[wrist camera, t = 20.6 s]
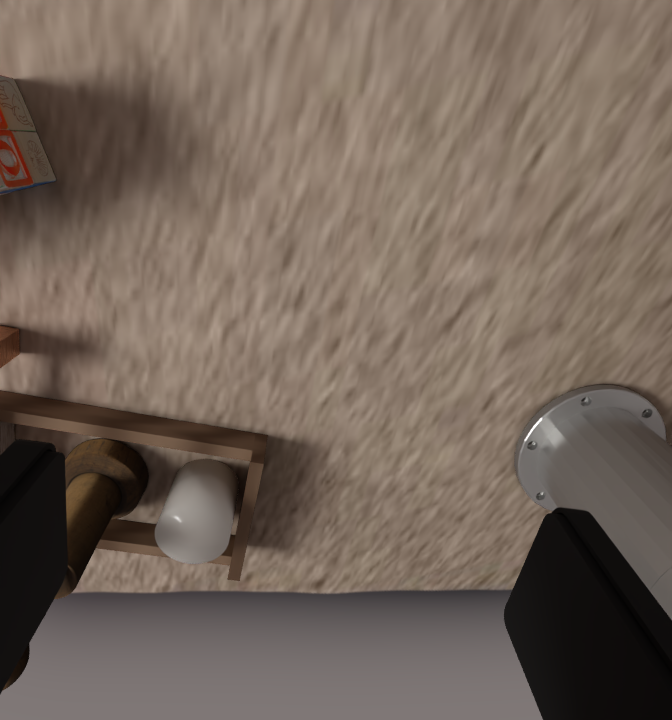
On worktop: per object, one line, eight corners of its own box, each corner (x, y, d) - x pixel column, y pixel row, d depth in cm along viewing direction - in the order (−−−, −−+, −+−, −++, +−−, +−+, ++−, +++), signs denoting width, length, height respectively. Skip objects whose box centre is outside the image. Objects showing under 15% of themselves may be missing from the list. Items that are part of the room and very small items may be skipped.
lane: (267, 435, 41) (262, 472, 37) (244, 545, 46) (237, 590, 41) (-26, 386, 38) (-72, 419, 34) (-19, 509, 43) (-58, 554, 38)
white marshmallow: (244, 464, 42) (234, 512, 37) (234, 515, 44) (224, 568, 39) (177, 453, 42) (158, 501, 36) (171, 506, 44) (151, 558, 38)
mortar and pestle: (53, 478, 42) (-111, 698, 25) (89, 423, 40) (-64, 623, 23) (126, 514, 44) (17, 740, 27) (163, 463, 42) (70, 674, 25)
